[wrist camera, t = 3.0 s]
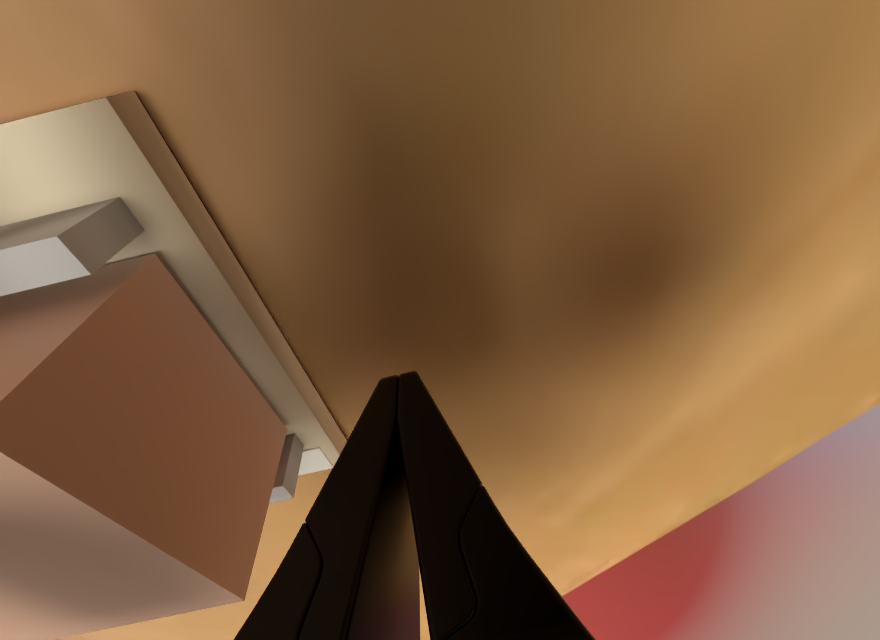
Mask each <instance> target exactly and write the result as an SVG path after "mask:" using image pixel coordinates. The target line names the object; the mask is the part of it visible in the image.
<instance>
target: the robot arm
mask: <svg viewBox="0 0 880 640" xmlns="http://www.w3.org/2000/svg"><path fill="white" fill-rule="evenodd" d="M305 521H306V523H304V524H302V526H301V528H300V530H299V532H298V534H297V536H296V538H295V539H294V541H293V543H292V545H291V547H290V549H289V550H288V552H287V554H286V556H285V557H284V559H283V561H282V563H281V564H280V566H279V568H278V570H277V572H276V573H275V575H274V577H273V578H272V580H271V581H270V583H269V585H268V586H267V588H266V590H265V591H264V593H263V594H262V596H261V598H260V599H259V601H258V603H257V604H256V606H255V607H254V609H253V611H252V612H251V614H250V615H249V617H248V618H247V620H246V621H245V623H244V624H243V626H242V628H241V629H240V631H239V632H238V634H237V635H236V637H235V638H234V640H420V591H419V567H420V574H421V581H422V587H423V594H424V600H425V607H426V613H427V620H428V626H429V633H430V640H595V638H594V637H593V636H592V635H591V633H590V632H589V631H588V630H587V628H586V627H585V626H584V625H583V624H582V622H581V621H580V620H579V618H578V617H577V616H576V615H575V613H574V612H573V611H572V609H571V608H570V607H569V605H568V604H567V603H566V602H565V600H564V599H563V598H562V596H561V595H560V594H559V593H558V591H557V590H556V589H555V587H554V586H553V585H552V584H551V582H550V581H549V580H548V578H547V577H546V576H545V574H544V573H543V572H542V571H541V569H540V568H539V567H538V565H537V564H536V563H535V562H534V560H533V559H532V558H531V556H530V555H529V554H528V552H527V551H526V550H525V548H524V547H523V546H522V544H521V543H520V541H519V540H518V539H517V537H516V536H515V535H514V533H513V532H512V530H511V529H510V528H509V526H508V525H507V523H506V521H505V520H504V518H503V517H502V515H501V514H500V512H499V510H498V509H497V507H496V506H495V504H494V502H493V501H492V499H491V497H490V496H489V494H488V492H487V490H486V489H485V487H484V486H482V482H481V481H480V479H479V477H478V475H477V474H476V472H475V470H474V469H473V467H472V465H471V463H470V462H469V460H468V458H467V457H466V455H465V453H464V452H463V450H462V448H461V446H460V445H459V443H458V441H457V440H456V438H455V436H454V434H453V433H452V431H451V429H450V428H449V426H448V424H447V422H446V421H445V419H444V417H443V416H442V414H441V412H440V411H439V409H438V407H437V405H436V404H435V402H434V400H433V399H432V397H431V395H430V393H429V392H428V390H427V388H426V387H425V385H424V383H423V381H422V380H421V378H420V376H419V375H418V373H417V372H416V371H412V372H407V373H403V374H400V376H397V375H394V376H390V377H385V378H382V379H381V380H380V381H379V382H378V384H377V386H376V388H375V390H374V392H373V394H372V396H371V397H370V399H369V401H368V403H367V405H366V407H365V409H364V411H363V412H362V414H361V416H360V418H359V420H358V422H357V424H356V426H355V427H354V429H353V431H352V433H351V435H350V437H349V439H348V441H347V442H346V444H345V446H344V448H343V450H342V452H341V454H340V456H339V457H338V459H337V461H336V463H335V465H334V467H333V469H332V470H331V472H330V474H329V476H328V478H327V480H326V482H325V484H324V485H323V487H322V489H321V491H320V493H319V495H318V497H317V499H316V500H315V502H314V504H313V506H312V508H311V510H310V512H309V514H308V515H307V517H306V519H305Z"/></svg>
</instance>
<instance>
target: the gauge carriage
mask: <svg viewBox="0 0 880 640" xmlns="http://www.w3.org/2000/svg"><path fill="white" fill-rule="evenodd" d="M286 433H287V428H286V427H285V426H284V424H283V423H282V422H281V420H280V419H279V418H278V416H277V415H276V414H275V412H274V411H273V410H272V408H271V407H270V406H269V404H268V403H267V402H266V400H265V399H264V398H263V396H262V395H261V394H260V392H259V391H258V390H257V388H256V387H255V386H254V384H253V383H252V382H251V380H250V379H249V378H248V376H247V375H246V374H245V372H244V371H243V370H242V368H241V367H240V366H239V364H238V363H237V362H236V360H235V359H234V358H233V356H232V355H231V354H230V352H229V351H228V350H227V348H226V347H225V346H224V344H223V343H222V342H221V340H220V339H219V338H218V336H217V335H216V334H215V333H214V331H213V330H212V329H211V327H210V326H209V325H208V323H207V322H206V321H205V319H204V318H203V317H202V315H201V314H200V313H199V311H198V310H197V309H196V307H195V306H194V305H193V303H192V302H191V301H190V299H189V298H188V297H187V295H186V294H185V293H184V291H183V290H182V289H181V287H180V286H179V285H178V283H177V282H176V281H175V279H174V278H173V277H172V275H171V274H170V273H169V271H168V270H167V269H166V267H165V266H164V265H163V263H162V262H161V261H160V259H159V258H158V257H157V255H156V254H155V253H154V254H150V255H146V256H142V257H138V258H133V259H129V260H125V261H121V262H117V263H113V264H108V265H104V266H101V267H100V268H98V269H97V270H96V271H95V272H94V273H92V274H91V275H87V276H83V277H79V278H75V279H71V280H66V281H62V282H58V283H54V284H50V285H45V286H41V287H37V288H33V289H29V290H25V291H20V292H16V293H12V294H8V295H4V296H0V640H55V639H60V638H64V637H69V636H74V635H79V634H84V633H89V632H94V631H99V630H103V629H108V628H113V627H118V626H123V625H128V624H133V623H138V622H143V621H147V620H152V619H157V618H162V617H167V616H172V615H177V614H182V613H187V612H191V611H196V610H201V609H206V608H211V607H216V606H221V605H226V604H231V603H235V602H240V601H244V600H245V596H246V592H247V588H248V584H249V580H250V576H251V572H252V568H253V564H254V560H255V557H256V553H257V549H258V545H259V541H260V537H261V533H262V529H263V525H264V521H265V517H266V513H267V509H268V505H269V501H270V497H271V493H272V489H273V485H274V481H275V477H276V473H277V469H278V465H279V461H280V457H281V453H282V449H283V445H284V441H285V437H286Z"/></svg>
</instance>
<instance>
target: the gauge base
mask: <svg viewBox="0 0 880 640" xmlns="http://www.w3.org/2000/svg"><path fill="white" fill-rule="evenodd" d="M154 253H155V254H156V255H157V257H158V258H159V259H160V261H161V262H162V263H163V265H164V266H165V267H166V269H167V270H168V271H169V273H170V274H171V275H172V277H173V278H174V279H175V281H176V282H177V283H178V285H179V286H180V287H181V289H182V290H183V291H184V293H185V294H186V295H187V297H188V298H189V299H190V301H191V302H192V303H193V305H194V306H195V307H196V309H197V310H198V311H199V313H200V314H201V315H202V317H203V318H204V319H205V321H206V322H207V323H208V325H209V326H210V327H211V329H212V330H213V331H214V333H215V334H216V335H217V336H218V338H219V339H220V340H221V342H222V343H223V344H224V346H225V347H226V348H227V350H228V351H229V352H230V354H231V355H232V356H233V358H234V359H235V360H236V362H237V363H238V364H239V366H240V367H241V368H242V370H243V371H244V372H245V374H246V375H247V376H248V378H249V379H250V380H251V382H252V383H253V384H254V386H255V387H256V388H257V390H258V391H259V392H260V394H261V395H262V396H263V398H264V399H265V400H266V402H267V403H268V404H269V406H270V407H271V408H272V410H273V411H274V412H275V414H276V415H277V416H278V418H279V419H280V420H281V422H282V423H283V424H284V426H285V427H286V428H287V433H286V437H285V441H284V445H283V449H282V453H281V457H280V461H279V465H278V469H277V473H276V477H275V481H274V485H273V489H272V493H271V497H270V501H269V503H272V502H277V501H281V500H286V499H291V498H294V493H295V488H296V483H297V478H298V475H303V474H308V473H312V472H317V471H322V470H326V469H331V468H333V467H334V465H335V463H336V461H337V459H338V457H339V456H340V454H341V452H342V450H343V448H344V446H345V444H346V442H347V440H346V439H345V437H344V435H343V434H342V432H341V430H340V429H339V427H338V426H337V424H336V422H335V421H334V419H333V417H332V416H331V414H330V412H329V411H328V409H327V407H326V406H325V404H324V403H323V401H322V399H321V398H320V396H319V394H318V393H317V391H316V389H315V388H314V386H313V384H312V383H311V381H310V380H309V378H308V376H307V375H306V373H305V371H304V370H303V368H302V366H301V365H300V363H299V361H298V360H297V358H296V356H295V355H294V353H293V352H292V350H291V348H290V347H289V345H288V343H287V342H286V340H285V338H284V337H283V335H282V333H281V332H280V330H279V329H278V327H277V325H276V324H275V322H274V320H273V319H272V317H271V315H270V314H269V312H268V310H267V309H266V307H265V306H264V304H263V302H262V301H261V299H260V297H259V296H258V294H257V292H256V291H255V289H254V287H253V286H252V284H251V282H250V281H249V279H248V278H247V276H246V274H245V273H244V271H243V269H242V268H241V266H240V264H239V263H238V261H237V259H236V258H235V256H234V255H233V253H232V251H231V250H230V248H229V246H228V245H227V243H226V241H225V240H224V238H223V236H222V235H221V233H220V232H219V230H218V228H217V227H216V225H215V223H214V222H213V220H212V218H211V217H210V215H209V213H208V212H207V210H206V208H205V207H204V205H203V204H202V202H201V200H200V199H199V197H198V195H197V194H196V192H195V190H194V189H193V187H192V185H191V184H190V182H189V181H188V179H187V177H186V176H185V174H184V172H183V171H182V169H181V167H180V166H179V164H178V162H177V161H176V159H175V158H174V156H173V154H172V153H171V151H170V149H169V148H168V146H167V144H166V143H165V141H164V139H163V138H162V136H161V134H160V133H159V131H158V130H157V128H156V126H155V125H154V123H153V121H152V120H151V118H150V116H149V115H148V113H147V111H146V110H145V108H144V107H143V105H142V103H141V102H140V100H139V98H138V97H137V95H136V93H135V92H134V91H131V92H127V93H122V94H118V95H114V96H110V97H106V98H102V99H98V100H94V101H90V102H86V103H82V104H78V105H74V106H71V107H67V108H63V109H59V110H55V111H51V112H47V113H43V114H39V115H36V116H32V117H28V118H24V119H20V120H16V121H12V122H8V123H4V124H0V296H4V295H8V294H12V293H16V292H20V291H25V290H29V289H33V288H37V287H41V286H45V285H50V284H54V283H58V282H62V281H66V280H71V279H75V278H79V277H83V276H87V275H91V274H92V273H94V272H95V271H96V270H97V269H98V268H100V267H101V266H104V265H108V264H113V263H117V262H121V261H125V260H129V259H133V258H138V257H142V256H146V255H150V254H154Z"/></svg>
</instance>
